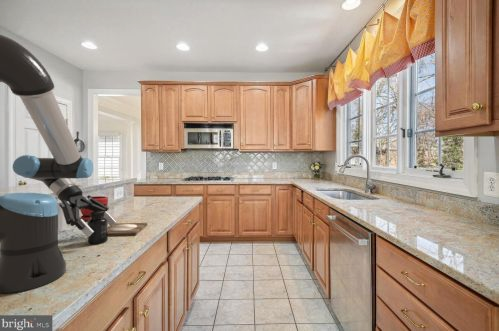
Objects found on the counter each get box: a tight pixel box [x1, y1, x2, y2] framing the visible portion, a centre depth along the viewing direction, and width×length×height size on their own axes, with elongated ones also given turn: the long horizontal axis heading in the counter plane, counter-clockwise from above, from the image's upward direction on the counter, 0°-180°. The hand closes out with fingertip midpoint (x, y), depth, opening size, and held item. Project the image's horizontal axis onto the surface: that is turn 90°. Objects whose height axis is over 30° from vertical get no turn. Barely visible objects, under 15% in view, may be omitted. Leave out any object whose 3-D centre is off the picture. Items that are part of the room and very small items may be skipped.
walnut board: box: [108, 222, 148, 237], centre depth 110 cm, size 16×16×2 cm
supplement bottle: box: [86, 211, 109, 246], centre depth 95 cm, size 7×7×12 cm
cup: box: [57, 202, 67, 232], centre depth 111 cm, size 8×8×12 cm
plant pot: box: [79, 195, 109, 222], centre depth 131 cm, size 13×13×12 cm
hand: (103, 229), depth 95 cm, fingers open, 13 cm apart
